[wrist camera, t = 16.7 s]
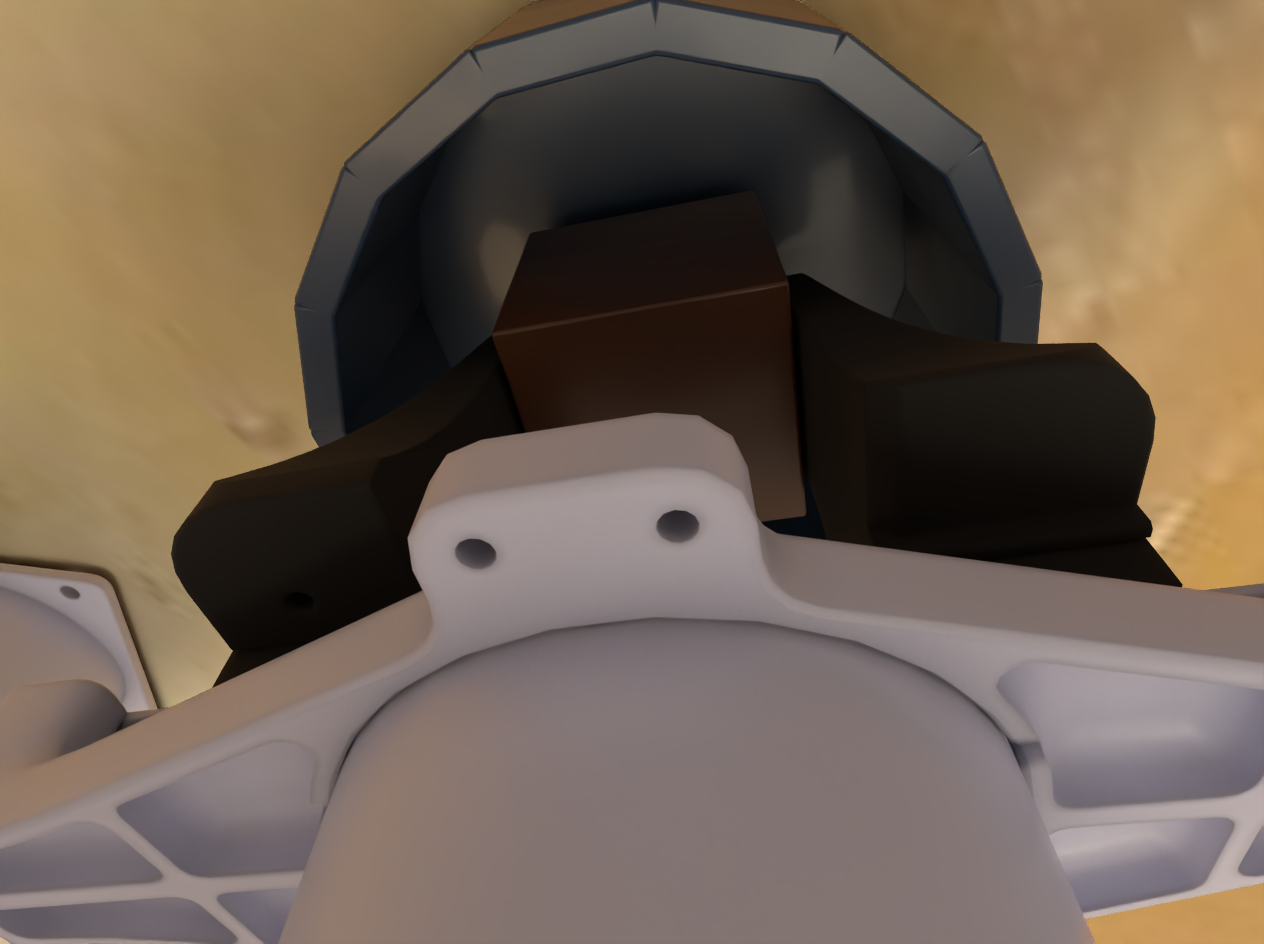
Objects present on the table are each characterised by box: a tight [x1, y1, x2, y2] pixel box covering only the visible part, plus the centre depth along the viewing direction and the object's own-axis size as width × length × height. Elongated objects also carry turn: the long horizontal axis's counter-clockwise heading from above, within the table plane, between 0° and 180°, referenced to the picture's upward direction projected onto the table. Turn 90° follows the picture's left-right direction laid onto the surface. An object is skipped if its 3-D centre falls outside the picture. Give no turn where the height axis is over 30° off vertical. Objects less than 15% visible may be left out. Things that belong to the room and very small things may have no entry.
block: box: [492, 190, 807, 522], centre depth 13 cm, size 4×4×4 cm
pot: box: [294, 0, 1043, 540], centre depth 14 cm, size 11×11×5 cm
